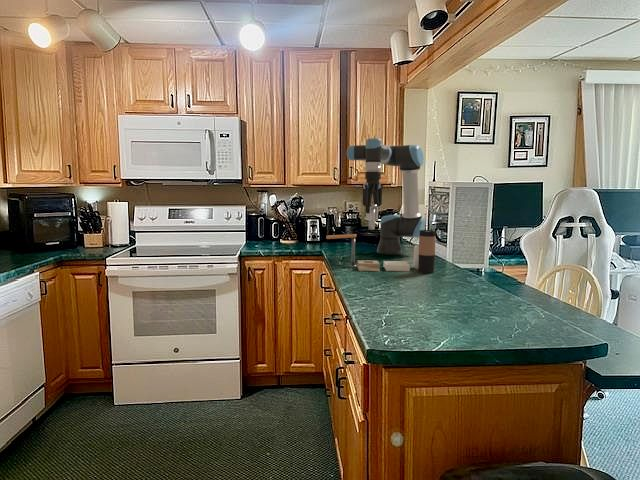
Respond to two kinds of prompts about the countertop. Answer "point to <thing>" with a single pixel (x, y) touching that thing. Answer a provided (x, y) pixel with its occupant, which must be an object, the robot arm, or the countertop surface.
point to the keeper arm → (340, 236)
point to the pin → (372, 217)
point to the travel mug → (426, 251)
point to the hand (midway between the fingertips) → (371, 219)
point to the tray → (396, 266)
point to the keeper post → (353, 254)
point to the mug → (416, 256)
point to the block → (368, 265)
